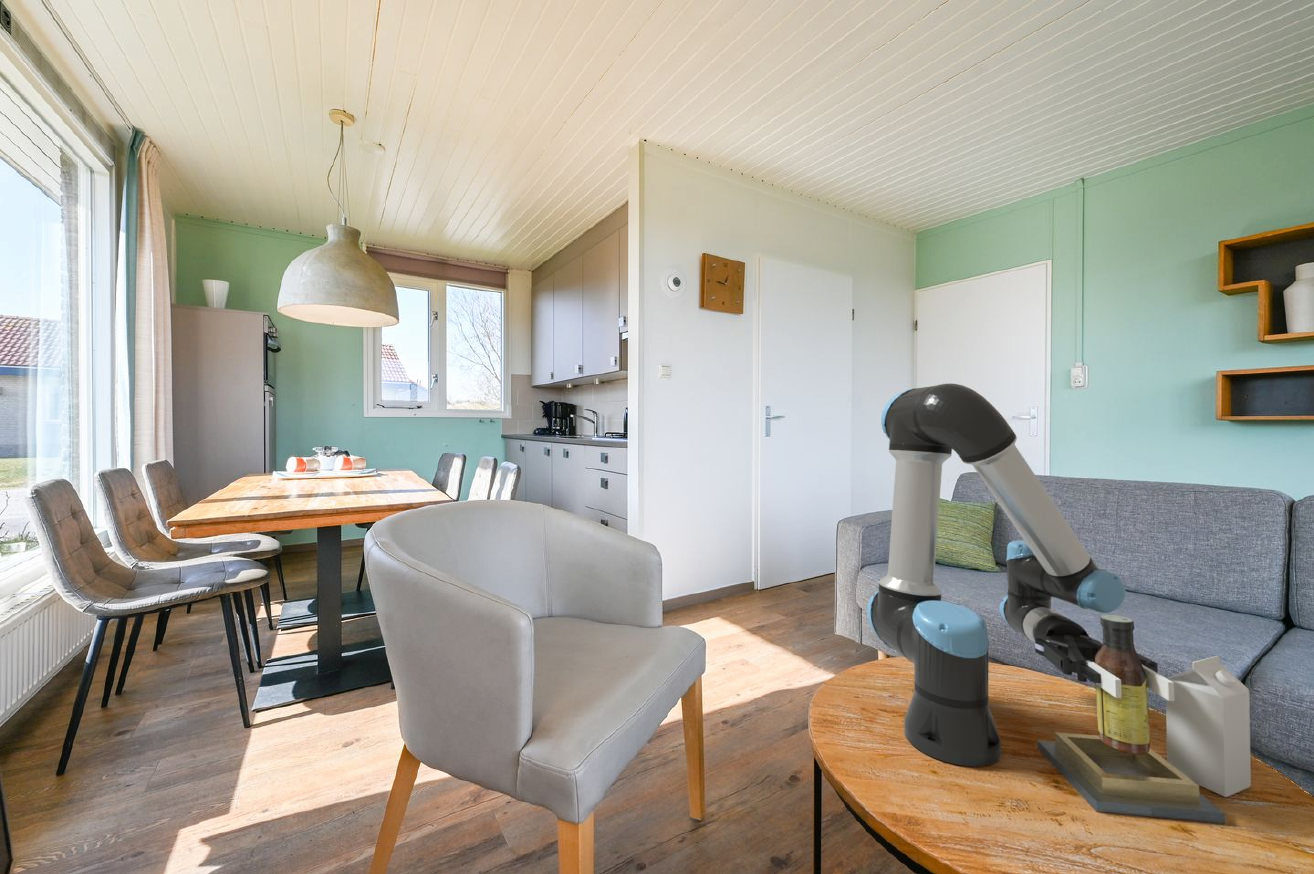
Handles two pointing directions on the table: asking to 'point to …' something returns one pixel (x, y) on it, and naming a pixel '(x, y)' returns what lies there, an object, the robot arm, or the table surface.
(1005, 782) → the table surface
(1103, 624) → the sauce bottle
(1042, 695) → the table surface
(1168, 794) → the plate
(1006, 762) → the table surface
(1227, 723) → the milk carton
